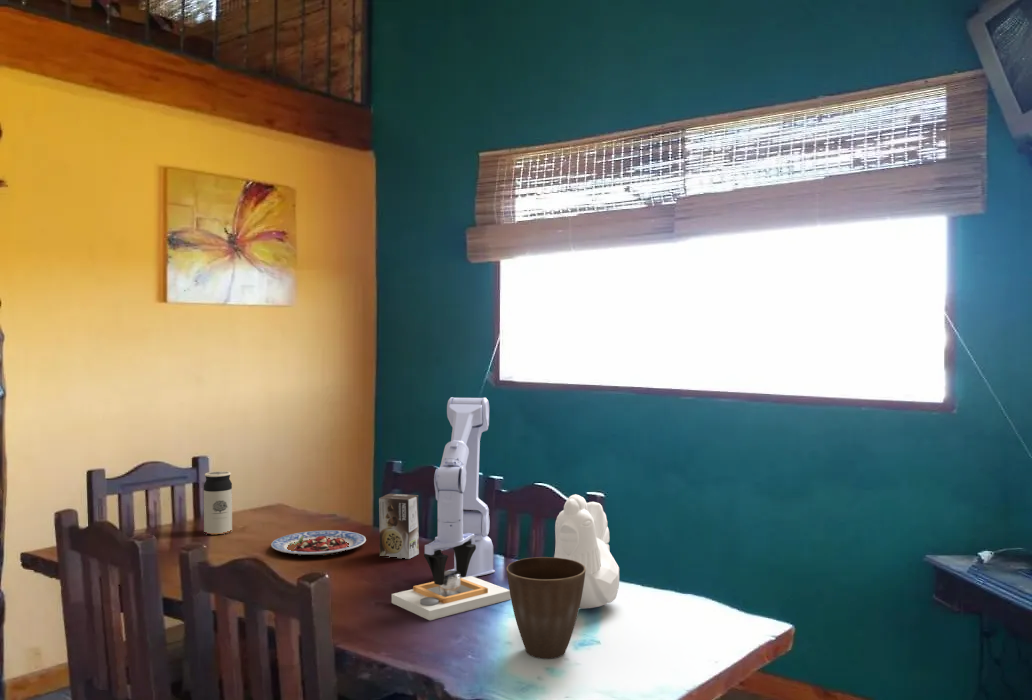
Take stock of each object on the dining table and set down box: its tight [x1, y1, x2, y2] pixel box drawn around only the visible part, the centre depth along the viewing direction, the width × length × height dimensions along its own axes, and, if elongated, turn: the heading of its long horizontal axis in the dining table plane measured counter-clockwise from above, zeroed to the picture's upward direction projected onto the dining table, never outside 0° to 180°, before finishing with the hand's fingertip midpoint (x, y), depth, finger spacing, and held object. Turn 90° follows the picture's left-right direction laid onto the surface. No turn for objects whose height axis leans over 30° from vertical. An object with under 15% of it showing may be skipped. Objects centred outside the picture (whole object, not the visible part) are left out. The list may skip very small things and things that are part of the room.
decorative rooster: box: [553, 493, 620, 610], centre depth 189 cm, size 25×16×25 cm, turn 144°
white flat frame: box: [391, 576, 511, 621], centre depth 189 cm, size 22×15×3 cm
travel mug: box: [203, 470, 233, 533], centre depth 254 cm, size 8×8×18 cm
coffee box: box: [378, 493, 420, 560], centre depth 228 cm, size 9×6×16 cm
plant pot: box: [505, 556, 586, 660], centre depth 159 cm, size 15×15×16 cm
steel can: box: [439, 570, 461, 597], centre depth 189 cm, size 5×5×6 cm
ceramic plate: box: [270, 530, 367, 556], centre depth 236 cm, size 26×26×3 cm
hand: (450, 580), depth 189 cm, fingers open, 7 cm apart
